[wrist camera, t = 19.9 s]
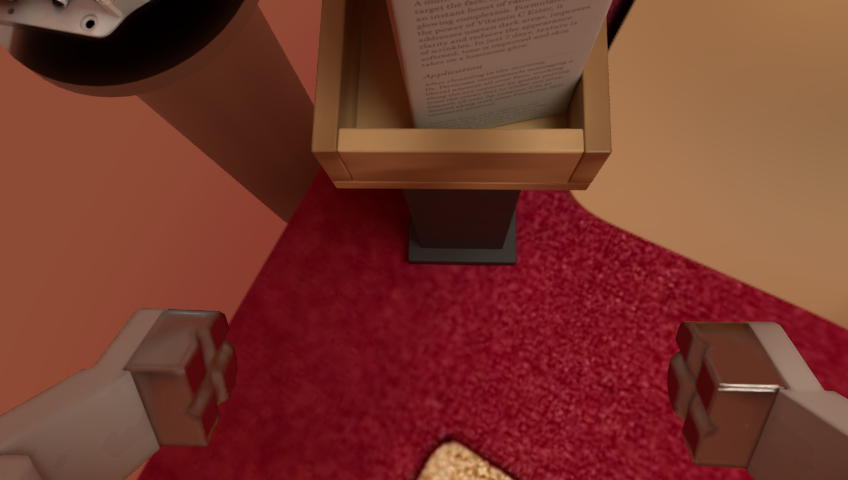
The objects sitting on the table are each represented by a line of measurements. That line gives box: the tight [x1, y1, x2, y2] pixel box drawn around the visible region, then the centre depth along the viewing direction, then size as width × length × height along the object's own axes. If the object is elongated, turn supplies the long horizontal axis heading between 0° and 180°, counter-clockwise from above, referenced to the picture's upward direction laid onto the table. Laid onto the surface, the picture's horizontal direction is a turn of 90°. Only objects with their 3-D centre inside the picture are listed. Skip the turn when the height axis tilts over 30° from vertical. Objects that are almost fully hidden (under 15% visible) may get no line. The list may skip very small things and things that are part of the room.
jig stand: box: [403, 189, 521, 266], centre depth 35 cm, size 8×8×24 cm
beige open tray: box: [311, 0, 612, 190], centre depth 21 cm, size 9×11×4 cm
